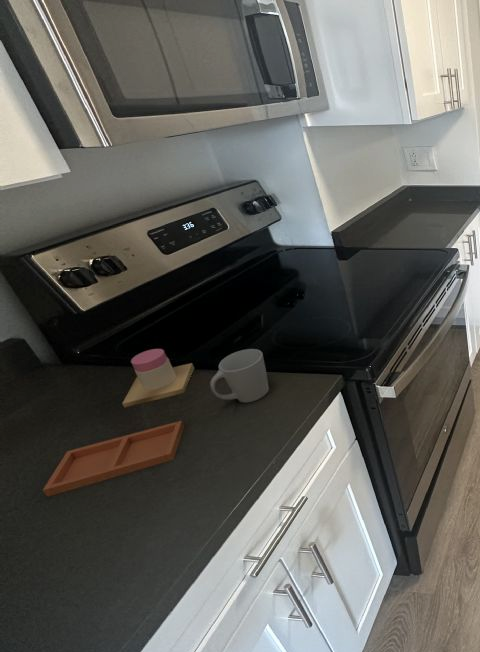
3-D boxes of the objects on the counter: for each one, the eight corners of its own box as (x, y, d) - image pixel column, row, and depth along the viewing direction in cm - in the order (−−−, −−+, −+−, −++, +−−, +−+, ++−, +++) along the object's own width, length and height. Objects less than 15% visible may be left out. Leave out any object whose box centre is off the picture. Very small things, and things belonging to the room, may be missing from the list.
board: (125, 409, 85) (121, 403, 84) (140, 381, 93) (137, 375, 92) (185, 394, 88) (182, 388, 88) (194, 368, 96) (192, 362, 96)
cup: (281, 390, 88) (269, 356, 85) (230, 419, 81) (215, 383, 77) (262, 377, 92) (251, 344, 89) (212, 404, 85) (197, 369, 81)
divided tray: (48, 498, 66) (42, 490, 66) (72, 459, 73) (67, 451, 73) (174, 461, 72) (170, 453, 71) (185, 428, 79) (181, 420, 79)
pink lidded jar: (139, 393, 87) (126, 367, 84) (147, 378, 91) (135, 352, 88) (172, 385, 89) (160, 359, 86) (178, 370, 93) (167, 345, 90)
